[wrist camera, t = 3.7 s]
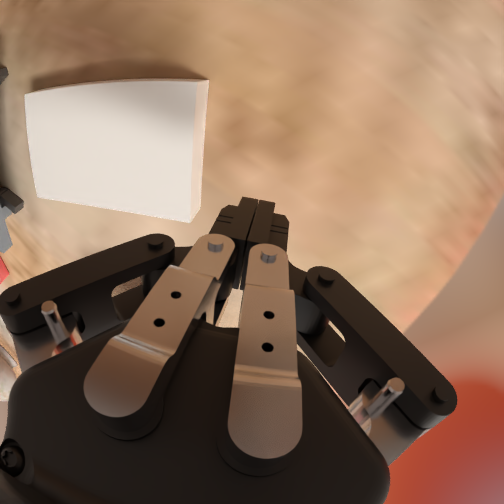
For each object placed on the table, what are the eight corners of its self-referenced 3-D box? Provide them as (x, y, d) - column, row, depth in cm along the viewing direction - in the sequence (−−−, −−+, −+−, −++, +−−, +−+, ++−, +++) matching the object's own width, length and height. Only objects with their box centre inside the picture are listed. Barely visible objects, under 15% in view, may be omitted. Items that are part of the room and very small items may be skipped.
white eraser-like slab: (43, 88, 18) (24, 94, 16) (209, 79, 17) (197, 82, 15) (53, 186, 24) (37, 197, 22) (200, 207, 23) (190, 223, 21)
